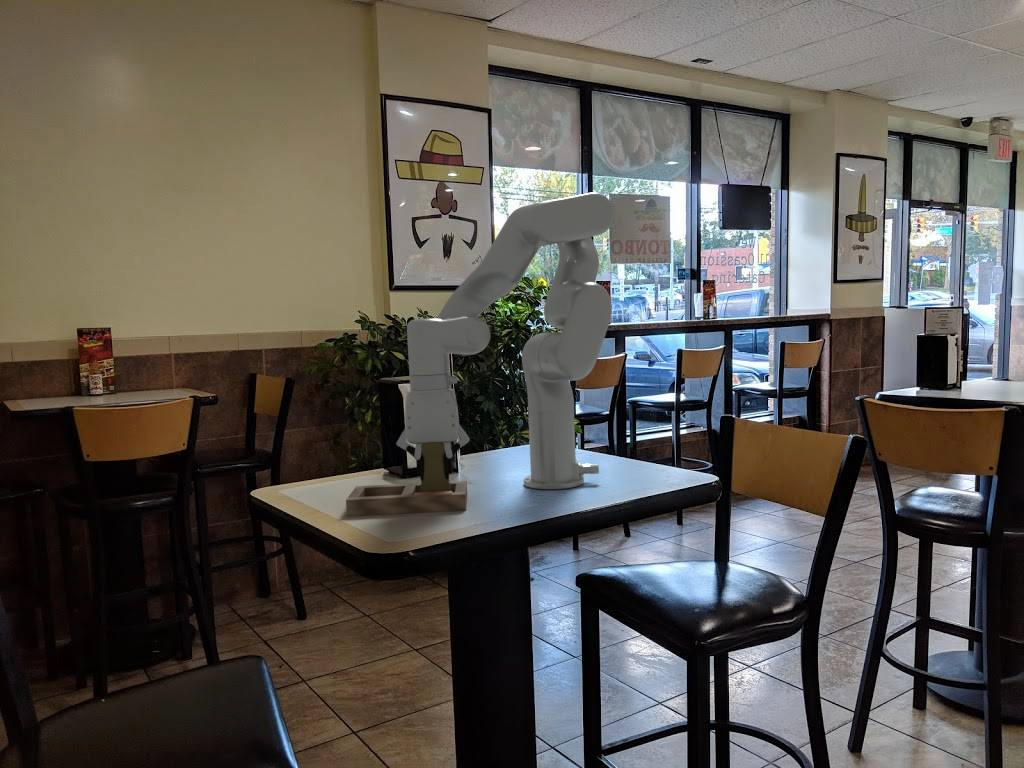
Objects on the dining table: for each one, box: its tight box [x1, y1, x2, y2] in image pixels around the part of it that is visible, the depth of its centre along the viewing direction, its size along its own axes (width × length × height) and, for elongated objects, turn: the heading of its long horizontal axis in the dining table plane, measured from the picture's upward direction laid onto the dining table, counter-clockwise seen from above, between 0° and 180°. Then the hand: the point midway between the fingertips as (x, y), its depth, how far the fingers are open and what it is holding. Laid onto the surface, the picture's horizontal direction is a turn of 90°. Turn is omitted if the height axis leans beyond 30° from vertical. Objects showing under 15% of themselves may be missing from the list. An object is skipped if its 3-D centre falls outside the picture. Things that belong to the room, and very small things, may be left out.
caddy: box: [345, 480, 468, 517], centre depth 153 cm, size 22×12×3 cm, turn 92°
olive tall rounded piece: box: [420, 442, 451, 493], centre depth 153 cm, size 6×6×11 cm
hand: (435, 477), depth 153 cm, fingers open, 4 cm apart
